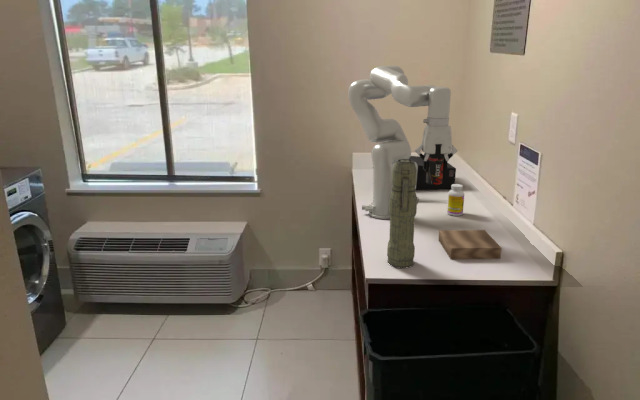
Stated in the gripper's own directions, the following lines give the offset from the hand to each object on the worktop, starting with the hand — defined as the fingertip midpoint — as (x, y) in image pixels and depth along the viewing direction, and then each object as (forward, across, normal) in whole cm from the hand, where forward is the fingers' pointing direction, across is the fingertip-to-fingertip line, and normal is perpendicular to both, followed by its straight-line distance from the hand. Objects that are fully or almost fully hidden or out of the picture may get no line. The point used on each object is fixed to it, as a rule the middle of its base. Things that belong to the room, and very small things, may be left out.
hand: (434, 170), depth 181 cm
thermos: (+26, -16, -26) cm, 40 cm away
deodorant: (+5, 0, 0) cm, 5 cm away
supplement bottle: (+26, +16, +24) cm, 39 cm away
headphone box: (+26, +10, +74) cm, 79 cm away
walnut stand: (+25, +10, -15) cm, 31 cm away
